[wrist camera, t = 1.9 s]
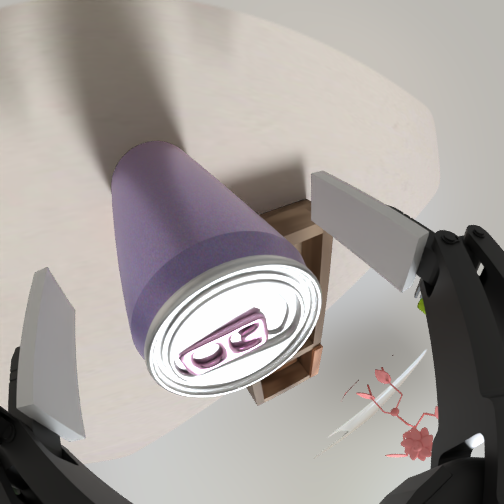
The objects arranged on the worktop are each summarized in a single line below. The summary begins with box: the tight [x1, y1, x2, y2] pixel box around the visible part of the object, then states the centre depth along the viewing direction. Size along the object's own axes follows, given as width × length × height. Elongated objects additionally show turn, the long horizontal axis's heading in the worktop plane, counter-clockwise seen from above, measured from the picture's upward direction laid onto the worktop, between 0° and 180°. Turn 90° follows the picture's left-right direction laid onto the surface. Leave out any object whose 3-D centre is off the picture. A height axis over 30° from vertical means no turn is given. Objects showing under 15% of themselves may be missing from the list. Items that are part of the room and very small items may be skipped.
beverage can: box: [111, 141, 322, 397], centre depth 13 cm, size 6×6×15 cm
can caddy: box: [247, 199, 333, 406], centre depth 32 cm, size 10×28×4 cm, turn 6°
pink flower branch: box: [345, 367, 438, 461], centre depth 63 cm, size 15×26×35 cm, turn 162°
